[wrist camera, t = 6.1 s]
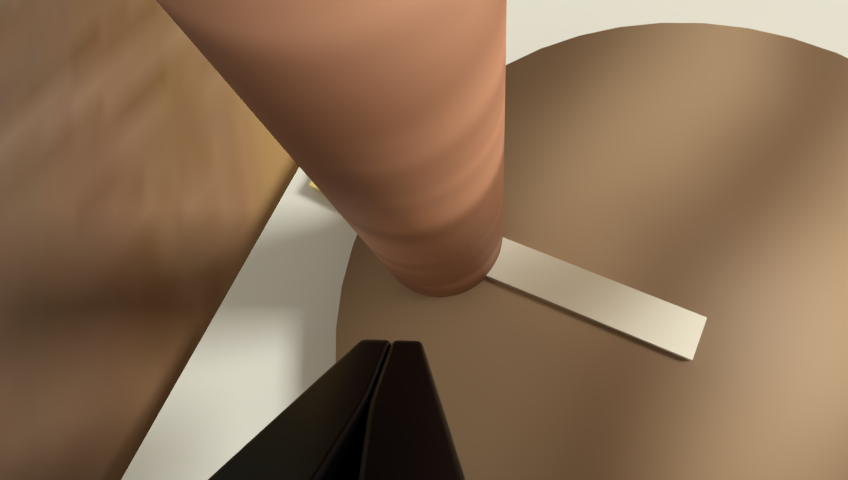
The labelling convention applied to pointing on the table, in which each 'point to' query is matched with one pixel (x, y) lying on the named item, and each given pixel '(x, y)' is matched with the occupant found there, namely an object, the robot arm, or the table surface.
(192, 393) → the dial plate
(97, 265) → the table surface
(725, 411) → the dial
